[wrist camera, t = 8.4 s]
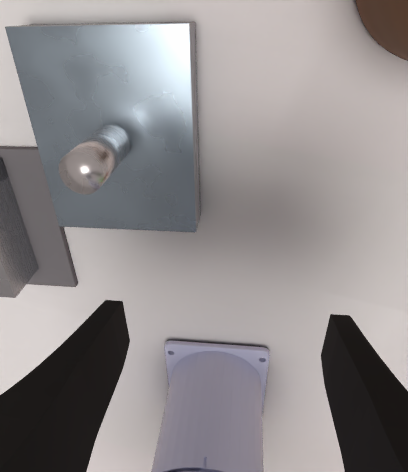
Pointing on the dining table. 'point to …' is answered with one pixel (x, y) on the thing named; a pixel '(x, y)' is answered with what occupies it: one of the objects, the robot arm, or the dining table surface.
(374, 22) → the mug
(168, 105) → the metal base with post
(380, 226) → the dining table surface
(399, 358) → the dining table surface
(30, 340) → the dining table surface
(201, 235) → the dining table surface
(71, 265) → the mat
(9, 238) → the gray tabletop stand
